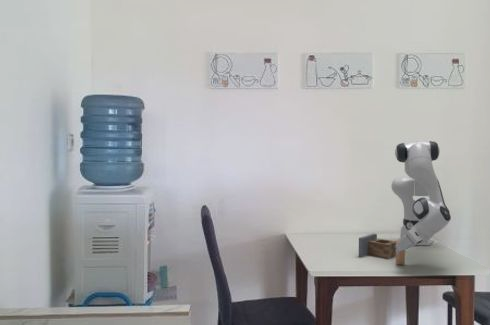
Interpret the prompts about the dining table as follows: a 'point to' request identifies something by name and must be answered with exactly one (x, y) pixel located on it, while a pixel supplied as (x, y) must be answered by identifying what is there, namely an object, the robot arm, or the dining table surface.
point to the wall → (365, 244)
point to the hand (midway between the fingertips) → (399, 250)
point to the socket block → (382, 248)
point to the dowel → (400, 256)
